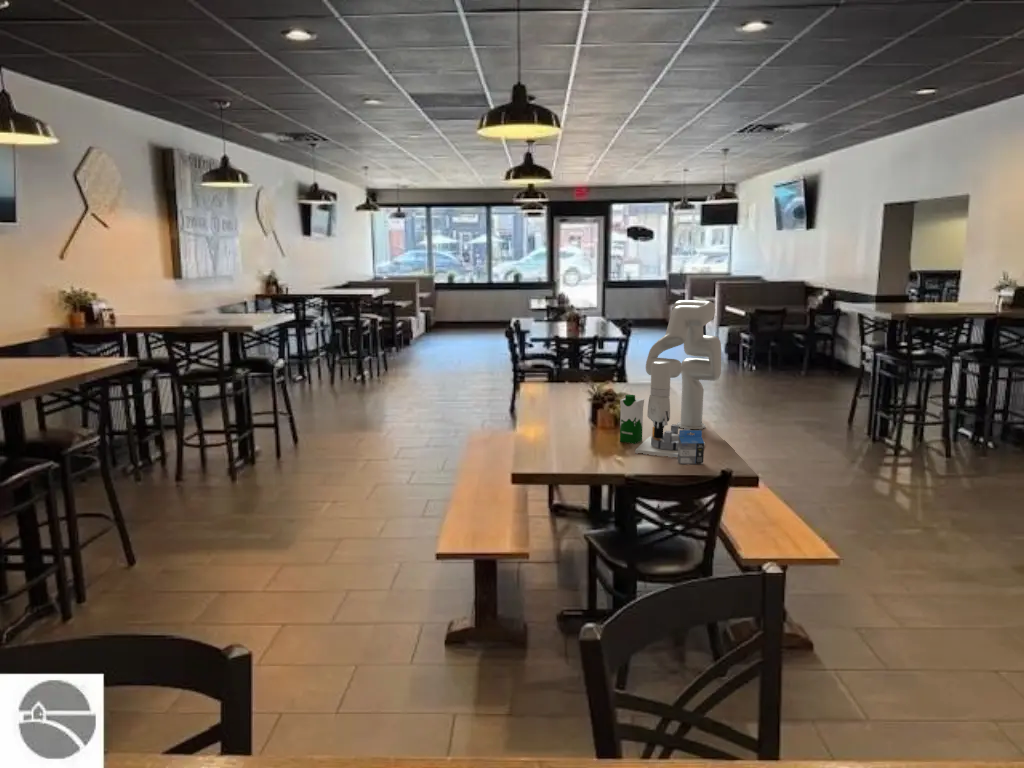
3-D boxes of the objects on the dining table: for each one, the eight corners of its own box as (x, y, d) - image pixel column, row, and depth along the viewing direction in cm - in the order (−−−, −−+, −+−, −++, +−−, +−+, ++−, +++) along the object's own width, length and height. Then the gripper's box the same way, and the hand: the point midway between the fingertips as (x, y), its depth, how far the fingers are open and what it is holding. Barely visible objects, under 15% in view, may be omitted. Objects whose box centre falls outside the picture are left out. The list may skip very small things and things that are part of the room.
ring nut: (656, 439, 306) (657, 422, 304) (693, 442, 299) (694, 426, 298) (647, 447, 292) (648, 430, 291) (685, 451, 286) (686, 434, 285)
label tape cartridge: (679, 464, 275) (681, 432, 273) (677, 461, 279) (678, 430, 277) (703, 464, 275) (705, 432, 273) (700, 461, 279) (702, 430, 277)
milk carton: (616, 441, 308) (618, 395, 304) (626, 437, 315) (627, 391, 311) (636, 445, 303) (637, 397, 299) (645, 440, 310) (646, 394, 306)
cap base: (649, 439, 311) (650, 425, 310) (704, 445, 302) (705, 431, 301) (635, 453, 290) (635, 438, 289) (693, 460, 281) (694, 444, 280)
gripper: (642, 389, 295) (640, 433, 299) (662, 396, 282) (660, 442, 285) (658, 388, 298) (656, 432, 301) (678, 395, 284) (676, 441, 287)
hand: (658, 437), depth 293 cm, fingers closed
